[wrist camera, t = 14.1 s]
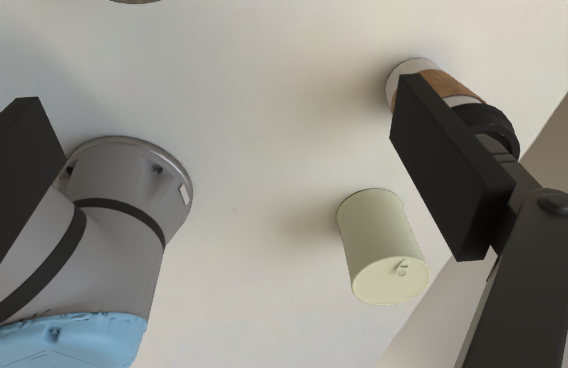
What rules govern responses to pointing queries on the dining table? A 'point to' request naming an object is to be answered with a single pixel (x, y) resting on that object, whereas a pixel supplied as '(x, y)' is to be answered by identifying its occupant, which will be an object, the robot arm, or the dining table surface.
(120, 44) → the dining table surface
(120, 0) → the coffee can
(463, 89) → the coffee cup
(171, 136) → the dining table surface
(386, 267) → the can
